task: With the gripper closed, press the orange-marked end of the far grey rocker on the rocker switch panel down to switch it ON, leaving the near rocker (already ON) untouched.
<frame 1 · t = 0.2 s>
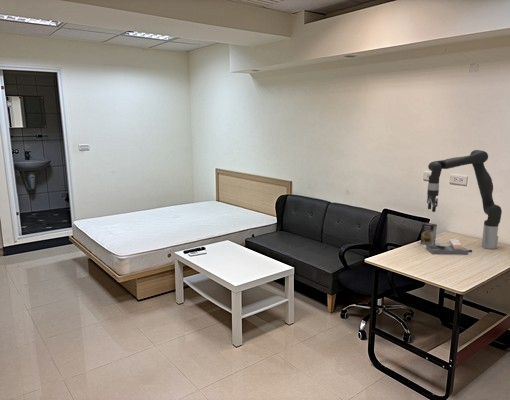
hand: (431, 210, 287), 29 cm above the table, fingers open, 8 cm apart
coffee box: (427, 244, 301), on the table
rocker b: (441, 244, 282), point 6 cm above the table, hinge at 15.0°
rocker a: (455, 244, 281), point 6 cm above the table, hinge at -15.0°
rocker switch panel: (446, 251, 283), on the table
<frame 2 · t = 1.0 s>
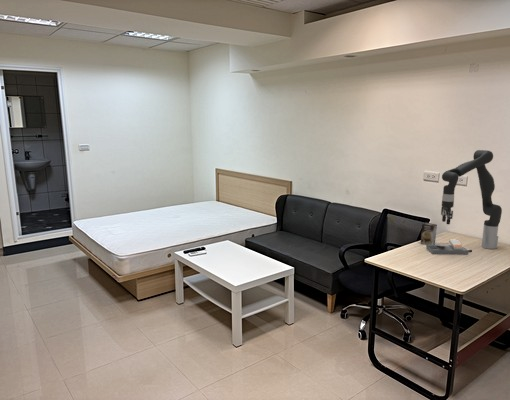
hand: (445, 222, 275), 23 cm above the table, fingers open, 7 cm apart
nothing on the table moved.
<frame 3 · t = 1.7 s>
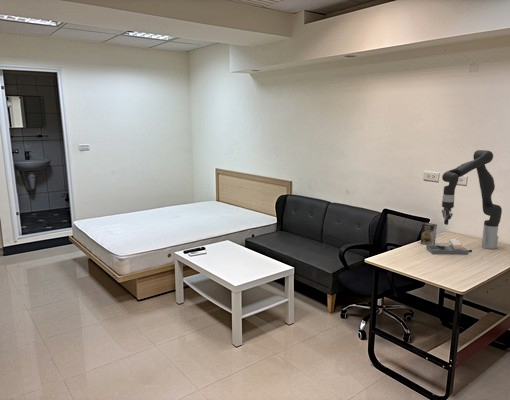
hand: (446, 224, 275), 22 cm above the table, fingers closed
nothing on the table moved.
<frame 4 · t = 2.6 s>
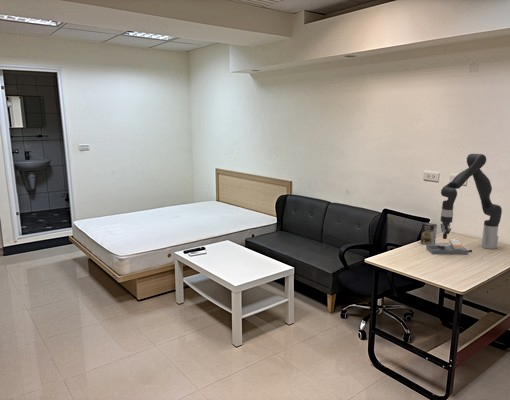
hand: (444, 238, 277), 11 cm above the table, fingers closed
nothing on the table moved.
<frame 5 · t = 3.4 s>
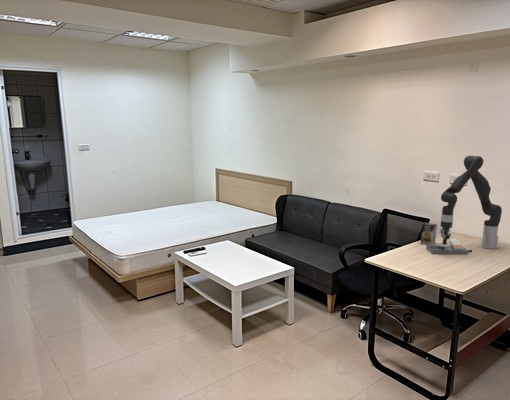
hand: (444, 244, 277), 7 cm above the table, fingers closed
rocker b: (441, 244, 282), point 6 cm above the table, hinge at 10.8°, touching gripper
everything else where it was.
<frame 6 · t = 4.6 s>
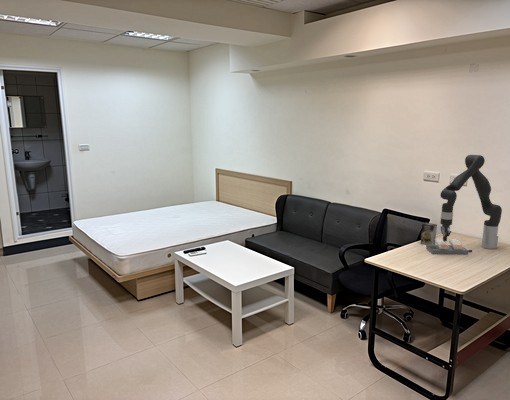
hand: (444, 241, 277), 9 cm above the table, fingers closed
rocker b: (441, 244, 282), point 6 cm above the table, hinge at -14.6°
everything else where it was.
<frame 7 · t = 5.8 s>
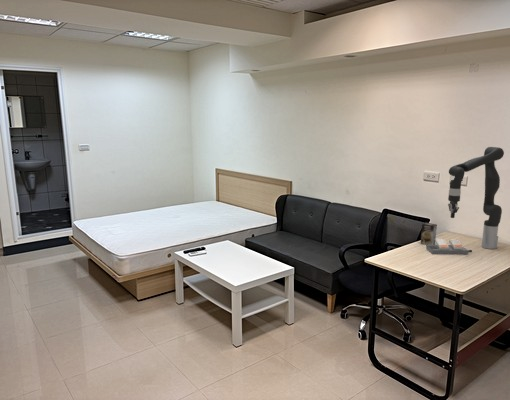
hand: (452, 217, 280), 25 cm above the table, fingers closed
rocker b: (441, 244, 282), point 6 cm above the table, hinge at -18.9°
everything else where it was.
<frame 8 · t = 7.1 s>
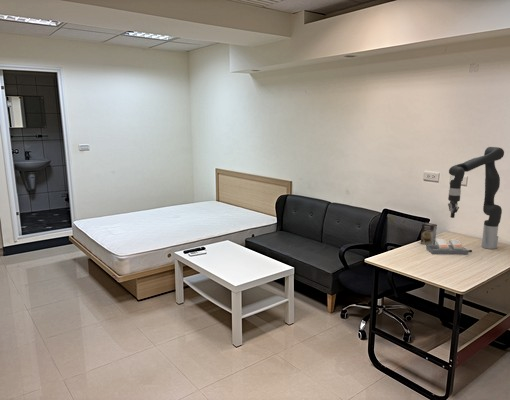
hand: (452, 217, 280), 25 cm above the table, fingers closed
rocker b: (441, 244, 282), point 6 cm above the table, hinge at -19.7°, touching rocker switch panel
everything else where it was.
at the end: rocker b at -20° (first picture: +15°); rocker a at -15° (first picture: -15°) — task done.
